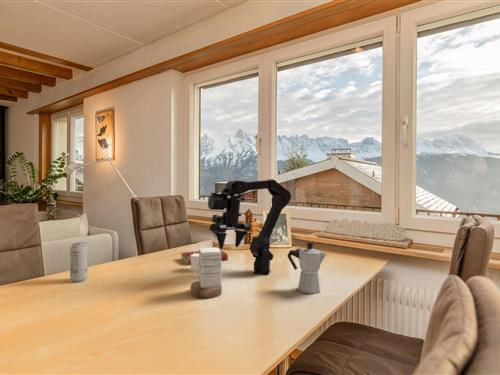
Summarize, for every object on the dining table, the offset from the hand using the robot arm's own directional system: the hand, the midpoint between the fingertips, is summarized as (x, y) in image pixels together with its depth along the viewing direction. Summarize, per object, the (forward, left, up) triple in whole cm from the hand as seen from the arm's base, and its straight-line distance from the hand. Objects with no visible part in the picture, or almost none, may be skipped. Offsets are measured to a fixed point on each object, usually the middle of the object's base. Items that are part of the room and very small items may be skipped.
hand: (229, 247), depth 130 cm
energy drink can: (+57, +19, -13) cm, 61 cm away
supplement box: (+2, +18, -10) cm, 21 cm away
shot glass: (+17, -7, -13) cm, 22 cm away
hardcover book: (+21, -25, -13) cm, 35 cm away
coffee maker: (-32, +6, -13) cm, 35 cm away
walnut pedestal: (+3, +19, -13) cm, 23 cm away
